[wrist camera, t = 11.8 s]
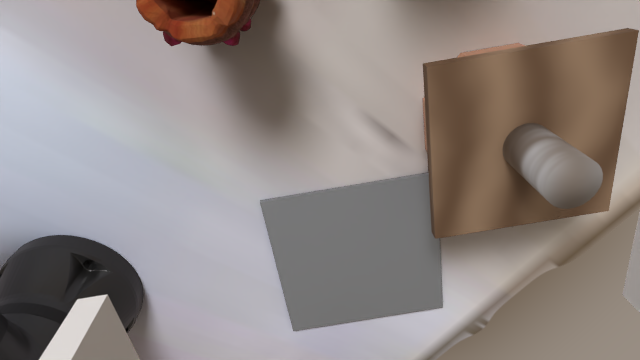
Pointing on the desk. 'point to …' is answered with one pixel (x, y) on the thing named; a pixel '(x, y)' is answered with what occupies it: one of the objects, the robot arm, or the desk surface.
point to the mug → (199, 19)
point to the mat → (356, 251)
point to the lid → (526, 131)
